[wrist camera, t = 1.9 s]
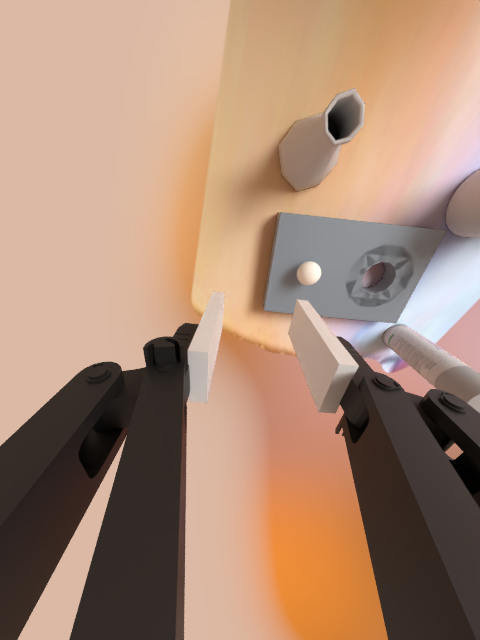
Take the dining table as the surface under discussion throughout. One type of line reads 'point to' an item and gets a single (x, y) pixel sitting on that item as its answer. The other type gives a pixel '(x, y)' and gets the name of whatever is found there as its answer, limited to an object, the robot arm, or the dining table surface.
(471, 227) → the mug
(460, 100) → the dining table surface
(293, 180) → the flask
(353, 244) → the plate
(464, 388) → the container
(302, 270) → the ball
